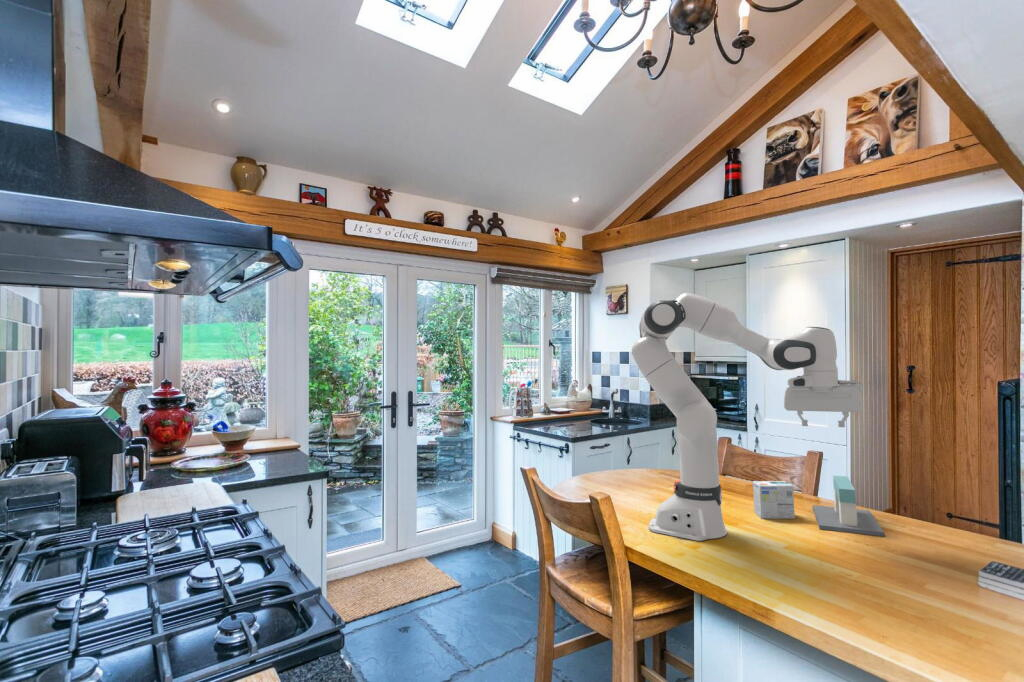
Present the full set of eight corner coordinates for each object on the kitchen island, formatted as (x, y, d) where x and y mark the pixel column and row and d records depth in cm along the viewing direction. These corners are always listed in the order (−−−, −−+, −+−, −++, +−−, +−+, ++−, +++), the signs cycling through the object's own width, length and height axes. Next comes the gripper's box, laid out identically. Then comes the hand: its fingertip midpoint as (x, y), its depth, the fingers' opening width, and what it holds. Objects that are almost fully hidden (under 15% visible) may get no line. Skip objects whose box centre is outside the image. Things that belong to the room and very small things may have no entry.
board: (819, 529, 151) (818, 501, 151) (812, 508, 171) (811, 484, 171) (884, 536, 144) (882, 507, 144) (869, 514, 164) (868, 488, 164)
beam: (833, 487, 166) (833, 475, 167) (848, 488, 165) (847, 476, 165) (839, 502, 151) (839, 488, 151) (855, 503, 149) (855, 490, 149)
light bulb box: (786, 512, 167) (785, 480, 168) (795, 519, 161) (794, 485, 161) (753, 512, 168) (751, 480, 169) (761, 519, 162) (759, 485, 162)
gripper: (860, 379, 149) (862, 426, 149) (782, 379, 158) (784, 423, 158) (864, 380, 143) (866, 429, 143) (783, 381, 153) (785, 426, 152)
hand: (822, 426), depth 150 cm, fingers open, 8 cm apart
